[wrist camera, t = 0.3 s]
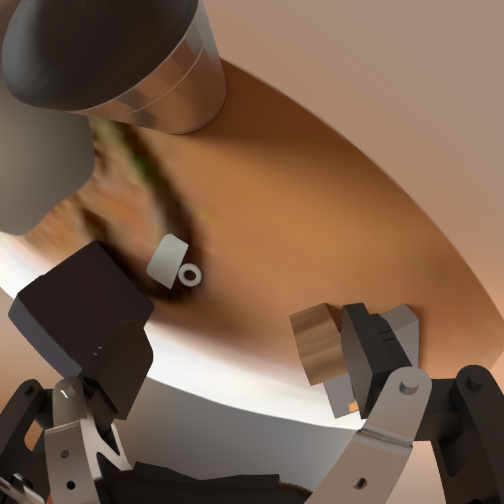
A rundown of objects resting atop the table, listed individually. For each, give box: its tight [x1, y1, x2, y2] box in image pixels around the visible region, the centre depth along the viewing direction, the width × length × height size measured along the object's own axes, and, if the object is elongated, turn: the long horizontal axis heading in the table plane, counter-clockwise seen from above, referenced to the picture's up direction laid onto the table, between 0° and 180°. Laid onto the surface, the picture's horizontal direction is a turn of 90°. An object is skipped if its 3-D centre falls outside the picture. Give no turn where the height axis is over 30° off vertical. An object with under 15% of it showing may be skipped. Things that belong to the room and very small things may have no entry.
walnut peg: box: [289, 303, 348, 386], centre depth 29 cm, size 4×4×8 cm
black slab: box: [8, 241, 154, 378], centre depth 23 cm, size 11×4×15 cm, turn 38°
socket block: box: [323, 304, 419, 419], centre depth 33 cm, size 14×14×4 cm
